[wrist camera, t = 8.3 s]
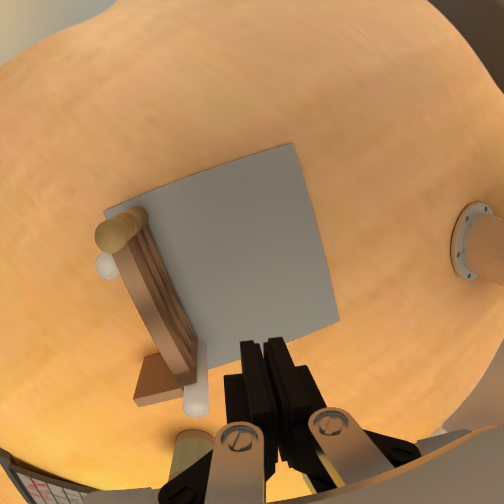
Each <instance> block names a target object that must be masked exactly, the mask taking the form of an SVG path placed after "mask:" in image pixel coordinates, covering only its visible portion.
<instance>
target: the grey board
mask: <svg viewBox="0 0 504 504" xmlns="http://www.w3.org/2000/svg"><path fill="white" fill-rule="evenodd" d="M134 207H141V208H143V209H144V210H145V211H146V212H147V214H148V217H149V221H148V227H149V229H150V232H151V234H152V237H153V240H154V242H155V244H156V247H157V249H158V252H159V254H160V257H161V259H162V261H163V264H164V266H165V269H166V271H167V273H168V276H169V278H170V280H171V282H172V285H173V287H174V289H175V291H176V294H177V296H178V298H179V300H180V302H181V305H182V307H183V309H184V311H185V313H186V315H187V317H188V320H189V322H190V324H191V326H192V328H193V330H194V332H195V334H196V336H197V338H198V349H197V383H194V384H191V385H187V386H184V387H181V386H180V384H179V383H178V381H177V380H176V378H175V376H174V375H173V373H172V371H171V370H170V368H169V366H168V365H167V363H166V361H165V360H164V358H163V356H162V355H161V353H158V354H154V355H151V356H147V357H144V361H143V364H142V368H141V371H140V375H139V379H138V382H137V386H136V390H135V394H134V397H133V400H134V401H135V403H136V404H137V405H138V407H141V406H146V405H151V404H155V403H160V402H164V401H168V400H172V399H176V398H180V397H183V411H184V413H185V414H186V415H188V416H190V417H194V418H200V417H204V416H206V415H207V414H208V413H209V410H210V409H209V389H208V369H211V368H214V367H218V366H221V365H224V364H227V363H230V362H233V361H236V360H239V359H241V354H240V341H248V340H253V341H254V343H259V344H260V347H261V351H263V342H268V338H274V337H283V339H284V342H285V343H287V342H289V341H292V340H295V339H297V338H300V337H302V336H305V335H307V334H310V333H312V332H315V331H317V330H320V329H322V328H324V327H327V326H329V325H331V324H334V323H336V322H338V321H340V320H339V315H338V310H337V306H336V301H335V296H334V292H333V288H332V283H331V279H330V275H329V270H328V266H327V262H326V258H325V254H324V250H323V246H322V242H321V238H320V234H319V231H318V227H317V223H316V219H315V216H314V212H313V209H312V205H311V201H310V198H309V194H308V191H307V188H306V184H305V181H304V177H303V174H302V171H301V168H300V164H299V161H298V158H297V155H296V152H295V148H294V145H293V143H290V144H287V145H283V146H280V147H276V148H273V149H269V150H266V151H263V152H259V153H256V154H253V155H250V156H247V157H243V158H240V159H237V160H234V161H231V162H228V163H225V164H222V165H219V166H216V167H213V168H211V169H208V170H205V171H202V172H199V173H197V174H194V175H191V176H188V177H186V178H183V179H180V180H178V181H175V182H172V183H170V184H167V185H165V186H162V187H160V188H157V189H155V190H152V191H150V192H147V193H145V194H143V195H140V196H138V197H135V198H133V199H131V200H128V201H126V202H124V203H121V204H119V205H117V206H115V207H112V208H110V209H108V210H106V211H104V214H105V217H106V220H108V219H110V218H112V217H114V216H116V215H119V214H121V213H123V212H125V211H127V210H129V209H132V208H134ZM95 267H96V271H97V273H98V274H99V275H100V276H101V277H102V278H104V279H106V280H113V279H116V278H117V277H118V276H119V275H120V272H119V270H118V268H117V266H116V263H115V261H114V259H113V257H112V254H111V253H106V252H103V253H102V254H100V255H99V256H98V257H97V259H96V263H95Z"/></svg>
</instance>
